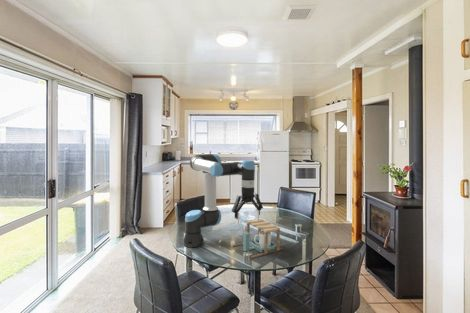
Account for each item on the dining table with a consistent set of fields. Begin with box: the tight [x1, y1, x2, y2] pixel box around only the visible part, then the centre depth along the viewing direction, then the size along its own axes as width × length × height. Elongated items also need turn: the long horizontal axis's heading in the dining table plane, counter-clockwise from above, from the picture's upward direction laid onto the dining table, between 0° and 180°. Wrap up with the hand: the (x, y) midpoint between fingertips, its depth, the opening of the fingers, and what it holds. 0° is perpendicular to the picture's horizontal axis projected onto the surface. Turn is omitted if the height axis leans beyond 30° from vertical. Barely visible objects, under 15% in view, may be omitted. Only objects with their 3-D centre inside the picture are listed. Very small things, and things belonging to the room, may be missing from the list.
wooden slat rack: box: [232, 218, 284, 259], centre depth 184 cm, size 23×28×16 cm
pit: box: [271, 238, 287, 248], centre depth 194 cm, size 14×7×1 cm, turn 32°
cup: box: [253, 230, 272, 249], centre depth 187 cm, size 8×12×10 cm
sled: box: [242, 231, 276, 253], centre depth 184 cm, size 18×23×12 cm
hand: (247, 222), depth 155 cm, fingers open, 13 cm apart
